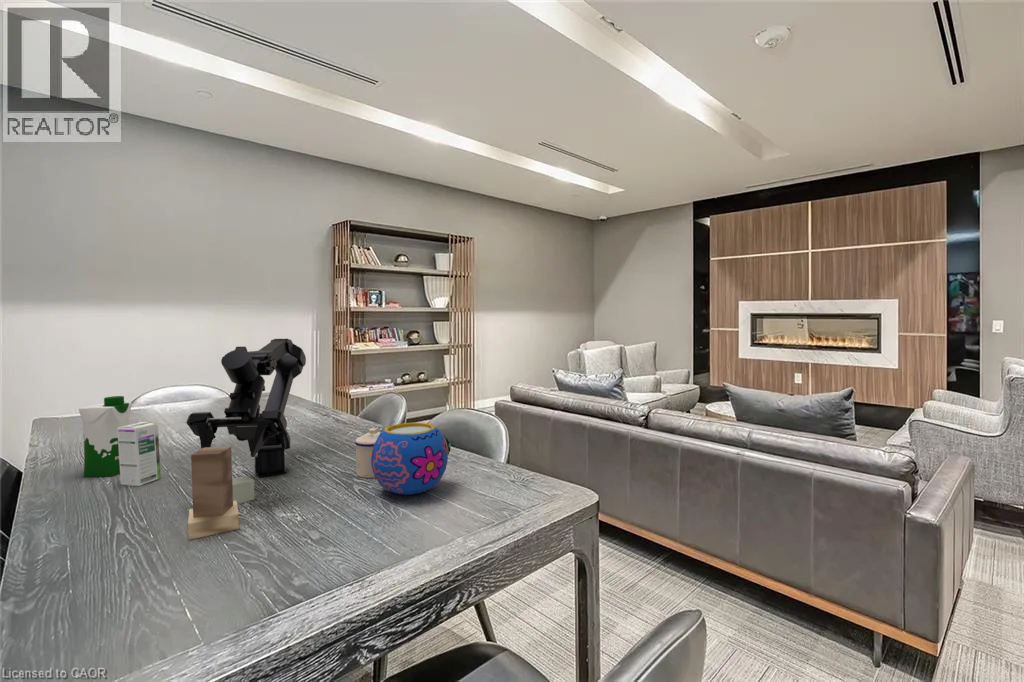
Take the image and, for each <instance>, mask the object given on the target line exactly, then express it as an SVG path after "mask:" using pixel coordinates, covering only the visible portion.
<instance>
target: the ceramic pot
mask: <svg viewBox="0 0 1024 682" xmlns="http://www.w3.org/2000/svg"><path fill="white" fill-rule="evenodd" d="M451 447H452V446H451V441H450V439H449V438H448V437H447V436H445V435H443V434H442V433H441V431H440V430H439V429H438V428H437V427H436V426H434V425H432V424H429V423H425V422H404V423H399V424H398V423H396V424H393V425H390V426H387V427H385V428H384V429H383V430H382V431H381V432H380V435H379V436H378V438H377V440H376V442H375V444H374V447H373V451H372V457H371V465H372V469H373V473H374V475H375V478H376V481H377V482H378V484H379V485H380V486H381V487H382V488H383V489H385V490H386V491H388V492H391V493H394V494H398V495H403V496H404V495H407V496H409V495H417V494H421V493H424V492H425V491H427V490H430V489H432V488H433V487H435V486H436V485H437V484H438V483H439V482H440V481H441V479H442V477H444V476H443V475H444V474H445V473H446V469H447V465H448V459H449V454H450V452H451Z"/></svg>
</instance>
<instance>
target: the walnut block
mask: <svg viewBox="0 0 1024 682" xmlns="http://www.w3.org/2000/svg"><path fill="white" fill-rule="evenodd" d="M232 455H233V454H232V446H231V445H229V446H211V447H206V448H202V449H201V448H200V449H199V450H197V451H195V452H193V453H192V454H190V463H191V464H190V465H191V492H192V493H191V494H192V508H193V518H196V517H210V516H222V515H223V514H225V513H226V512H227V511H228V510H229V509H230V508H231V507H232V506H233V486H232V479H233V462H232V461H233V459H232Z"/></svg>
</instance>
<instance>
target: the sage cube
mask: <svg viewBox="0 0 1024 682" xmlns="http://www.w3.org/2000/svg"><path fill="white" fill-rule="evenodd" d="M232 486H233V501H235V500H237V505H239V504H243V503H246V502H249V501H253V500H255V497H256V496H255V479H253V478H252V477H250V476H248V475H244V476H239V477H235V478H232Z"/></svg>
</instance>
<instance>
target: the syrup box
mask: <svg viewBox="0 0 1024 682" xmlns="http://www.w3.org/2000/svg"><path fill="white" fill-rule="evenodd" d="M117 431H118V447H119V463H120V473H119V476H120V485H121V486H129V487H131V486H132V487H141V486H143V485H146V484H148V483H151V482H154V481H158V480H160V479H161V477H162V475H161V459H160V458H161V457H160V441H159V424H158V422H153V421H143V422H141V421H139V422H137V423H132V424H129V425H127V426H123V427H118V428H117Z"/></svg>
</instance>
